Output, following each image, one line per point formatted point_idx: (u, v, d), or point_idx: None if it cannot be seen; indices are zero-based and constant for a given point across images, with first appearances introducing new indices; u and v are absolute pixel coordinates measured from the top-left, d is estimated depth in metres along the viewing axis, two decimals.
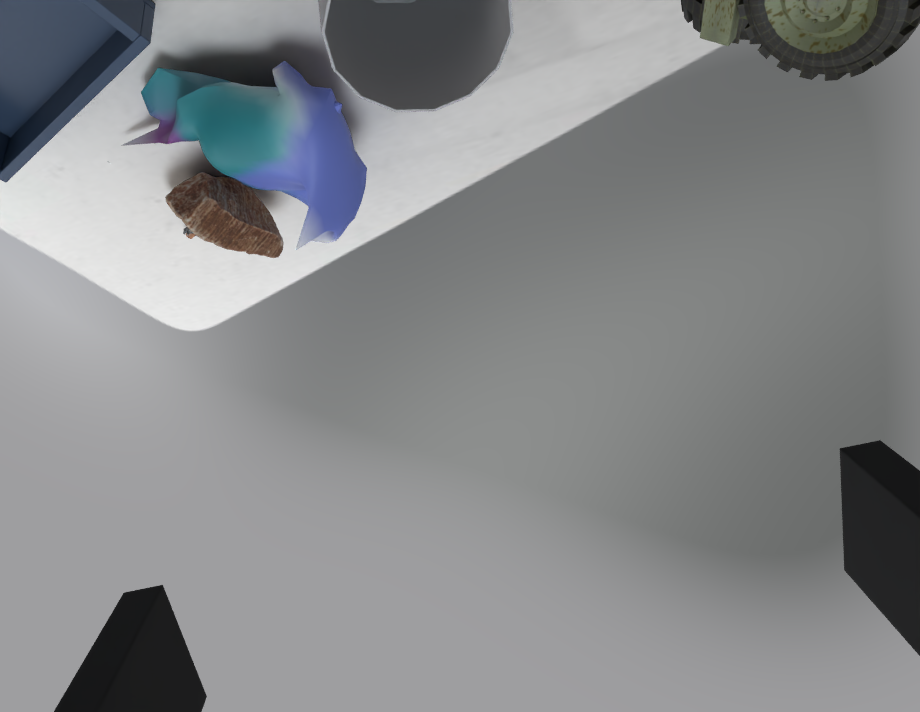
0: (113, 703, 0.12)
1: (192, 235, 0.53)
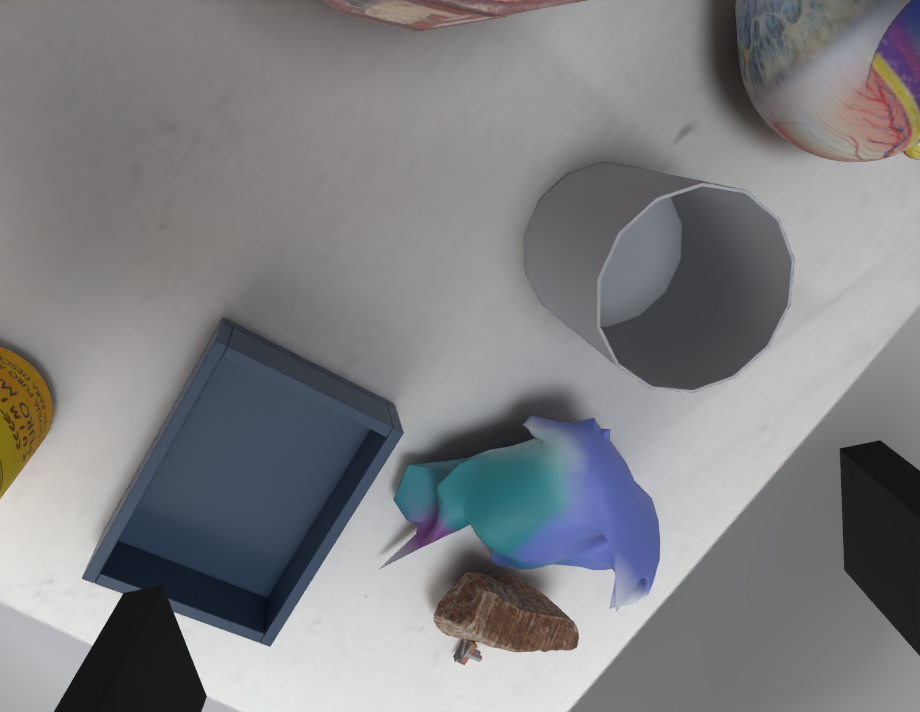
0: (113, 703, 0.12)
1: (465, 659, 0.44)
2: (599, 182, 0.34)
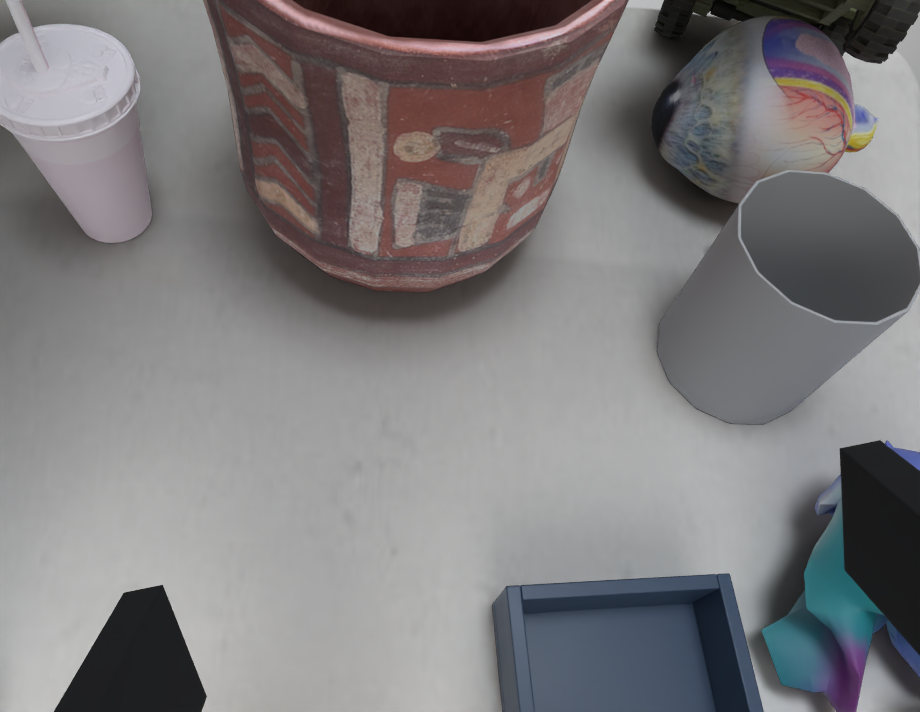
0: (113, 703, 0.12)
1: None
2: None
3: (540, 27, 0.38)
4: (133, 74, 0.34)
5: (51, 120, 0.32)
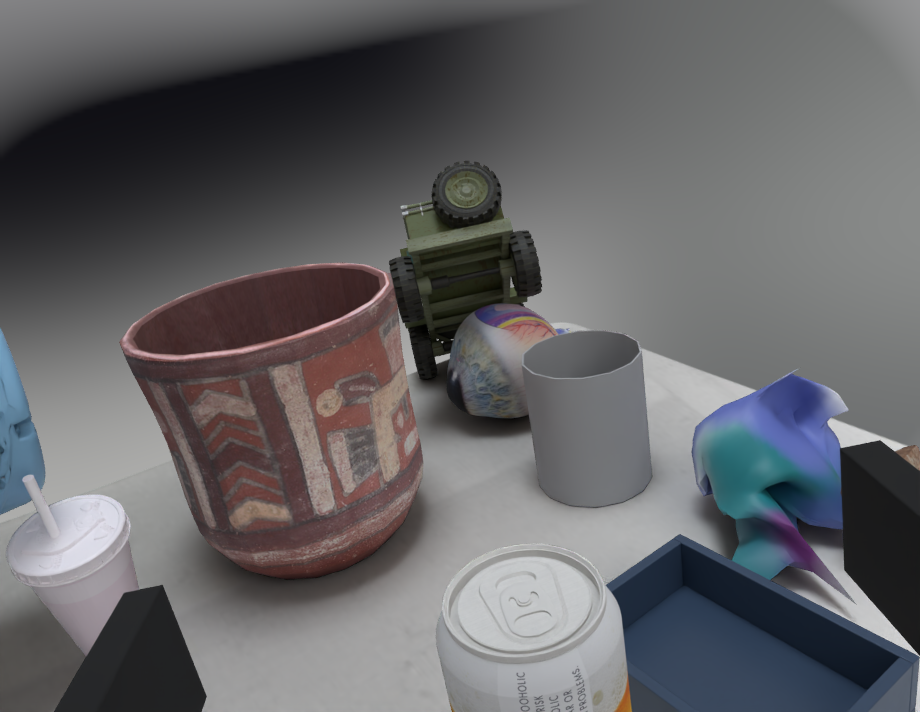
0: (113, 703, 0.12)
1: None
2: (532, 436, 0.56)
3: None
4: None
5: (83, 560, 0.42)
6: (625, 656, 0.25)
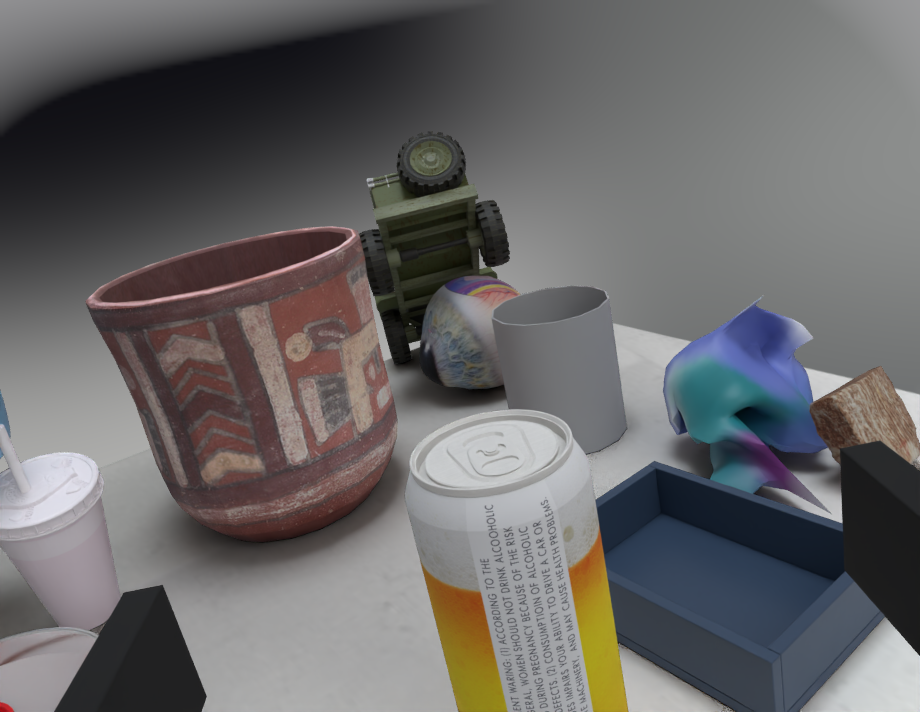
0: (113, 703, 0.12)
1: None
2: None
3: None
4: (95, 463, 0.44)
5: (55, 513, 0.40)
6: (595, 505, 0.25)
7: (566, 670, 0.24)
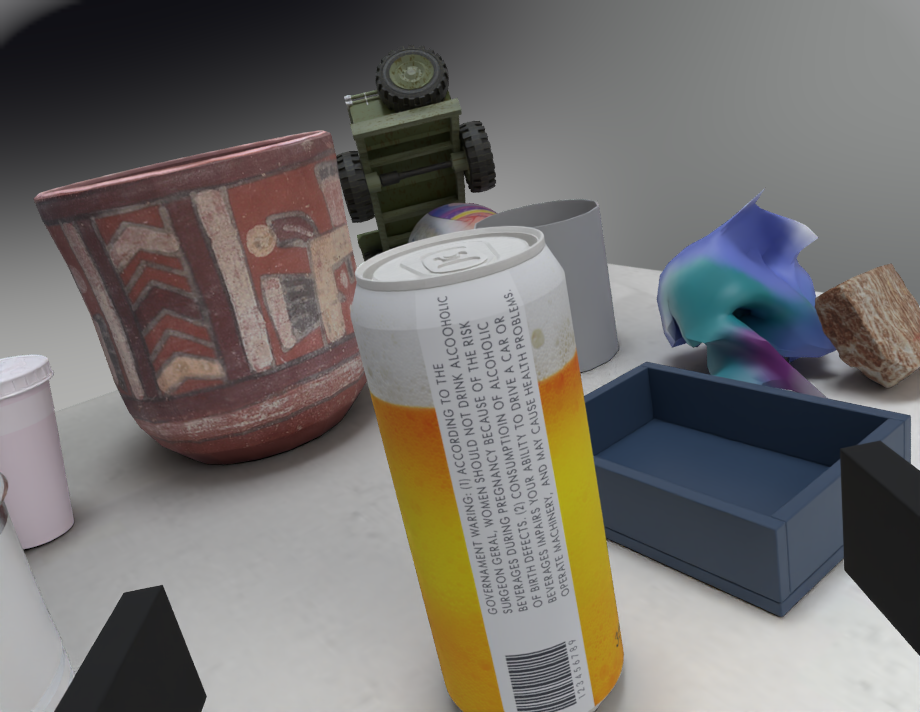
0: (113, 703, 0.12)
1: None
2: None
3: None
4: (46, 357, 0.43)
5: None
6: None
7: (537, 508, 0.21)
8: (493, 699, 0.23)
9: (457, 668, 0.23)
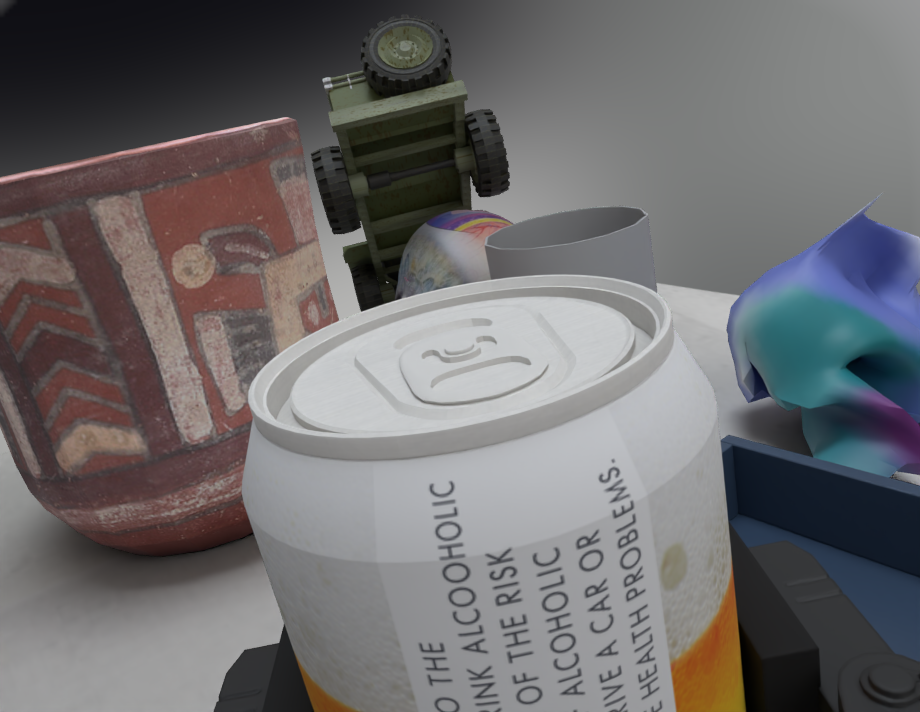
0: None
1: None
2: None
3: None
4: None
5: None
6: None
7: None
8: None
9: None
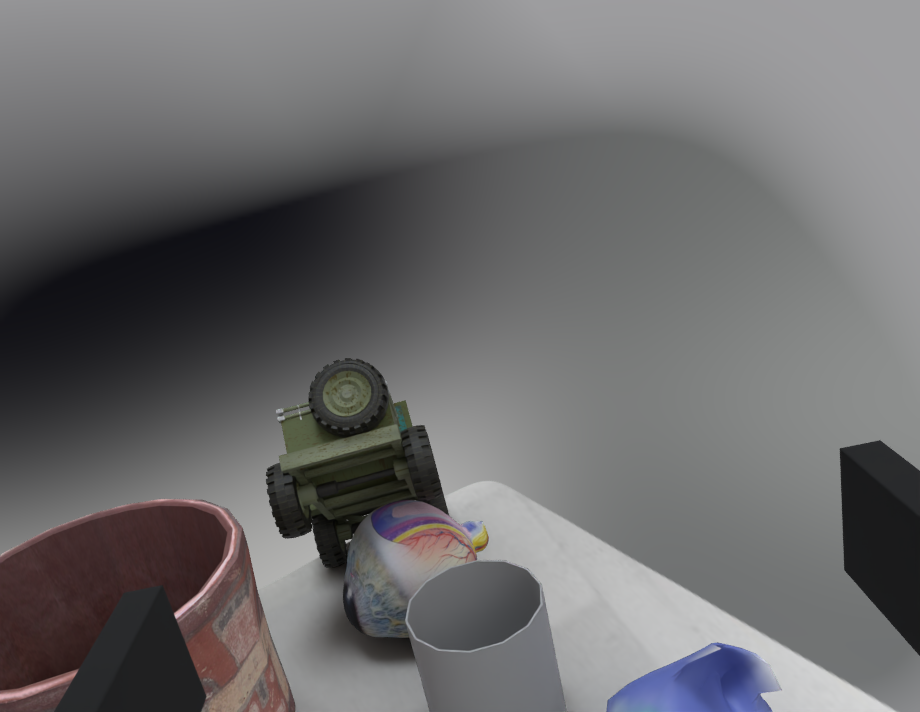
0: (113, 703, 0.12)
1: None
2: None
3: None
4: None
5: None
6: None
7: None
8: None
9: None
